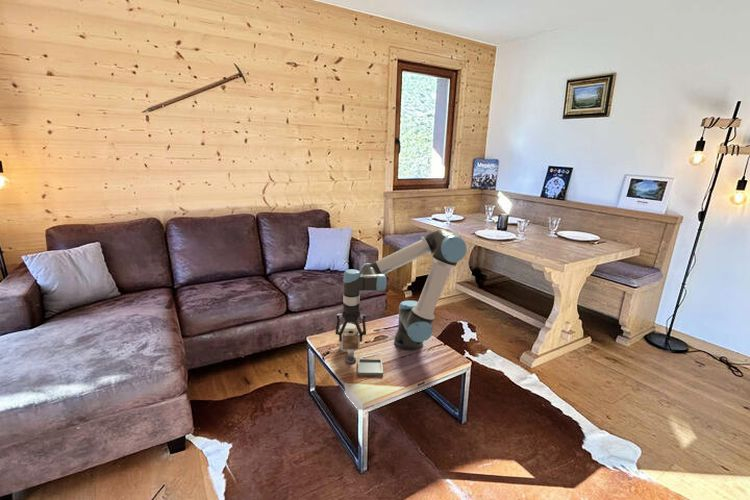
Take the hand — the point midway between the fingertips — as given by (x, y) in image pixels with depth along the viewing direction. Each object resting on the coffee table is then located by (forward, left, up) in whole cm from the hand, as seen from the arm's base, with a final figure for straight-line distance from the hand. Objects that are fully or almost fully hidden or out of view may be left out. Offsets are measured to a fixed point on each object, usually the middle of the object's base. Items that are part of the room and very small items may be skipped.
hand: (350, 347), depth 180 cm
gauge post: (0, 0, -8) cm, 8 cm away
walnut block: (0, 0, +1) cm, 1 cm away
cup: (+2, -12, -8) cm, 14 cm away
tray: (-9, +6, -8) cm, 14 cm away
